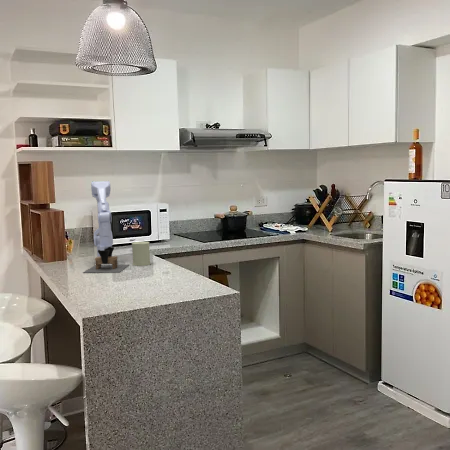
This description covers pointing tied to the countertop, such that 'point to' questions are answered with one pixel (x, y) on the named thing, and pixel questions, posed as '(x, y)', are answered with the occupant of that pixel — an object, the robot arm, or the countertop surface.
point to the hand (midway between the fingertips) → (106, 262)
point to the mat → (106, 269)
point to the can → (141, 253)
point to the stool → (111, 260)
